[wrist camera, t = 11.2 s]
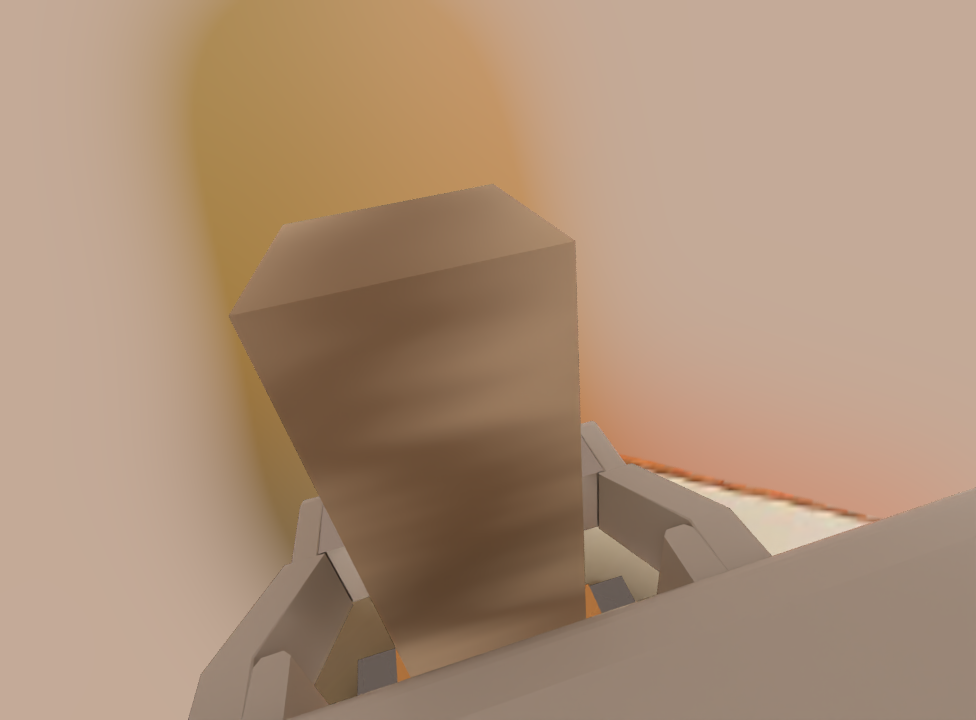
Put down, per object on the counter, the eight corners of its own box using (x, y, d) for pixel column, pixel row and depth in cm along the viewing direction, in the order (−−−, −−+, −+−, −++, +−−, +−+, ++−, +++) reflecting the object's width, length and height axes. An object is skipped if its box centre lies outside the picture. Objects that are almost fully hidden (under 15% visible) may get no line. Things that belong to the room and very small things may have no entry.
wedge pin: (542, 586, 16) (493, 183, 9) (588, 714, 13) (575, 240, 5) (434, 621, 16) (282, 224, 8) (454, 764, 12) (227, 315, 5)
